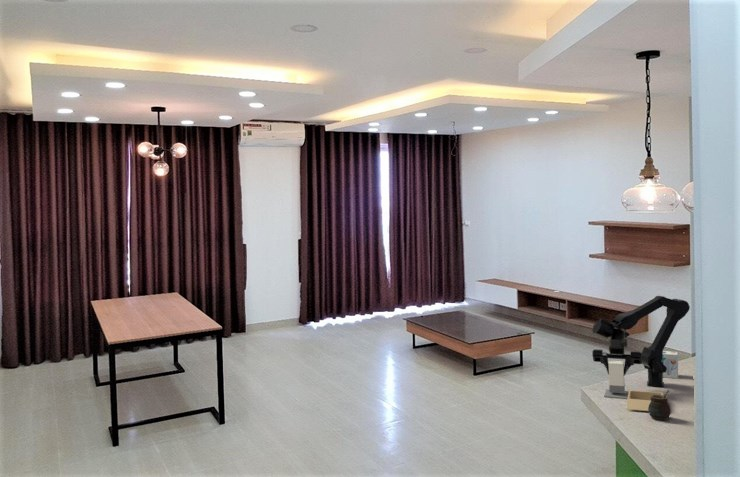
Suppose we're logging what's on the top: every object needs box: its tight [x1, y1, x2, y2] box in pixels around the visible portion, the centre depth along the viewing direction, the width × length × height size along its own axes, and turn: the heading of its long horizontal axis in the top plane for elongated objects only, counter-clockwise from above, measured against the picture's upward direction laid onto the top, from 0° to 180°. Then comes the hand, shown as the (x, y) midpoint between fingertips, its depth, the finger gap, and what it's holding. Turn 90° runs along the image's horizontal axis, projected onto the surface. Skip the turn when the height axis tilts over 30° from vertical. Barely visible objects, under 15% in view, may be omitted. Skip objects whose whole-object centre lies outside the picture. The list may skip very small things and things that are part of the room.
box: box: [608, 360, 626, 393], centre depth 249 cm, size 4×6×12 cm
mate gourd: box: [647, 389, 672, 421], centre depth 219 cm, size 7×8×10 cm
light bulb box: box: [661, 350, 679, 379], centre depth 275 cm, size 11×7×11 cm, turn 62°
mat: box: [603, 389, 629, 400], centre depth 249 cm, size 10×9×1 cm
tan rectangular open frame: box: [626, 389, 664, 412], centre depth 235 cm, size 19×12×4 cm, turn 154°
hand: (616, 374), depth 248 cm, fingers closed on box, 5 cm apart
